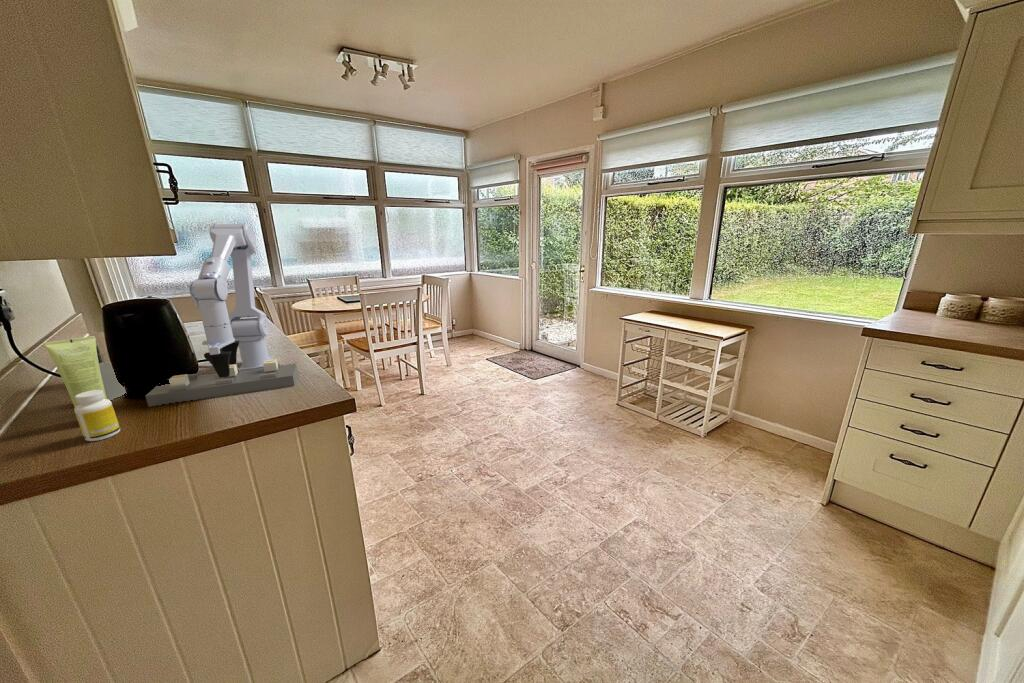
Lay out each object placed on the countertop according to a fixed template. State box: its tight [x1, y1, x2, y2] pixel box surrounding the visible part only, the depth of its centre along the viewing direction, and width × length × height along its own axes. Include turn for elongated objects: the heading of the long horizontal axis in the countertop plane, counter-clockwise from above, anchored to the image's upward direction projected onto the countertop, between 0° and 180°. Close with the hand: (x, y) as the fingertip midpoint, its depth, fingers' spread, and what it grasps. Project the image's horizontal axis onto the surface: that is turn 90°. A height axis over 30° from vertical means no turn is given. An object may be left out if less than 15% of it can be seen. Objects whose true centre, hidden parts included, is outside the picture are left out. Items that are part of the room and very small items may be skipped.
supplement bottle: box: [73, 390, 121, 442], centre depth 80 cm, size 5×5×10 cm
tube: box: [43, 335, 107, 408], centre depth 86 cm, size 6×5×20 cm
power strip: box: [145, 363, 299, 408], centre depth 105 cm, size 11×32×4 cm, turn 114°
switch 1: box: [168, 373, 190, 387], centre depth 99 cm, size 3×3×3 cm
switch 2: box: [263, 358, 279, 372], centre depth 110 cm, size 3×3×3 cm
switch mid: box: [229, 363, 238, 377], centre depth 106 cm, size 3×3×3 cm
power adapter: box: [99, 353, 127, 401], centre depth 98 cm, size 3×5×12 cm, turn 177°
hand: (228, 372), depth 105 cm, fingers open, 7 cm apart
